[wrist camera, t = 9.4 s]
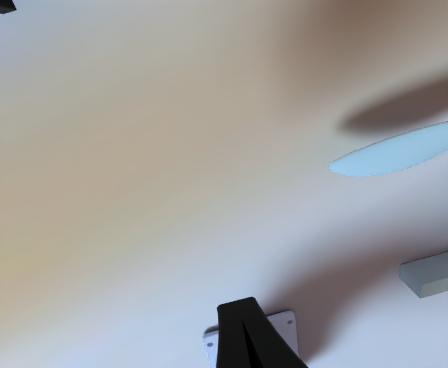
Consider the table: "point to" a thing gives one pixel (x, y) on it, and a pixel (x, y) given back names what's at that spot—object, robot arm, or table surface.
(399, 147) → the propeller
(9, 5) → the figurine character
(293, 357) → the robot arm
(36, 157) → the table surface
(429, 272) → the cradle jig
